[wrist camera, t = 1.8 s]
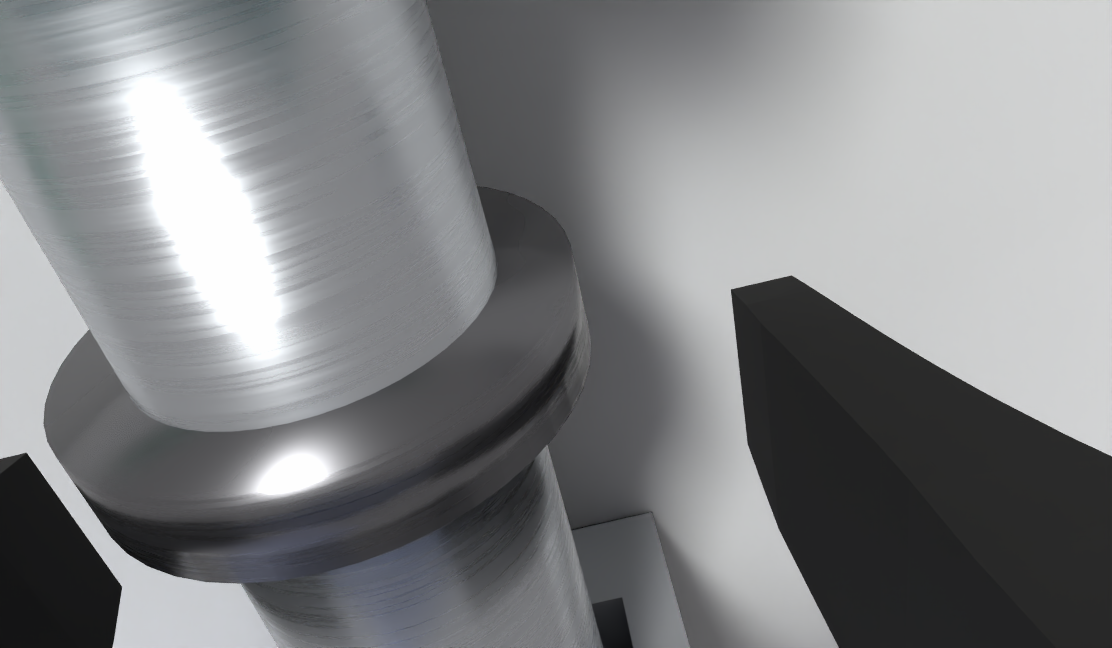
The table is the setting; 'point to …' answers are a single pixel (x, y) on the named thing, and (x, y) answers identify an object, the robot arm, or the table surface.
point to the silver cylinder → (300, 317)
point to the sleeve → (630, 584)
